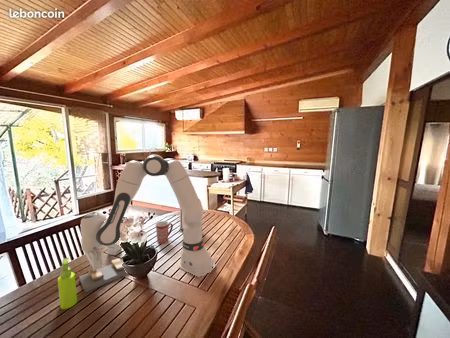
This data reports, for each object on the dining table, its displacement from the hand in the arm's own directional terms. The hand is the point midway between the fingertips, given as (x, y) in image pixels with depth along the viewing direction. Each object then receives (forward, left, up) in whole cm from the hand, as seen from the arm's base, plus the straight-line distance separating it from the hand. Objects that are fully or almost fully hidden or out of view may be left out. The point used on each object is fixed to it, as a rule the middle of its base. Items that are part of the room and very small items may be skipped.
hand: (93, 268), depth 105 cm
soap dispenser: (-12, +12, -5) cm, 18 cm away
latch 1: (-3, 0, -2) cm, 4 cm away
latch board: (-4, -6, -5) cm, 8 cm away
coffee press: (+15, -71, -5) cm, 72 cm away
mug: (+9, -47, -5) cm, 48 cm away
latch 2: (-3, -11, -2) cm, 12 cm away
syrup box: (+17, -16, -5) cm, 24 cm away
